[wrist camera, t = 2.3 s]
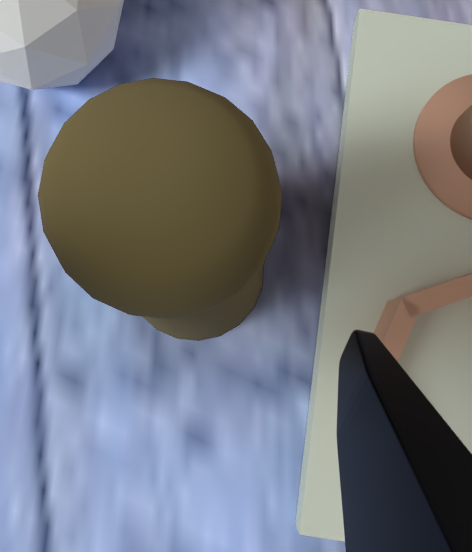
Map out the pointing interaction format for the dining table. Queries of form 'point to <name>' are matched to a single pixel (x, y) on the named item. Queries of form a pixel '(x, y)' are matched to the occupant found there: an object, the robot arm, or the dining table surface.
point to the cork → (163, 205)
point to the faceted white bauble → (55, 40)
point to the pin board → (396, 235)
